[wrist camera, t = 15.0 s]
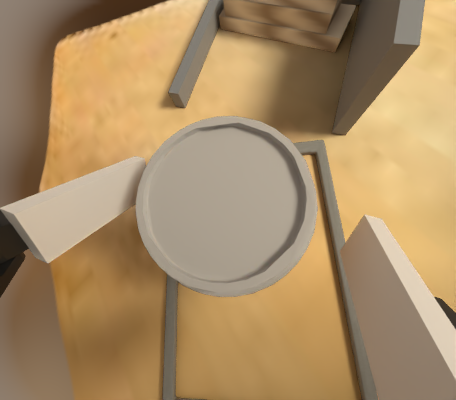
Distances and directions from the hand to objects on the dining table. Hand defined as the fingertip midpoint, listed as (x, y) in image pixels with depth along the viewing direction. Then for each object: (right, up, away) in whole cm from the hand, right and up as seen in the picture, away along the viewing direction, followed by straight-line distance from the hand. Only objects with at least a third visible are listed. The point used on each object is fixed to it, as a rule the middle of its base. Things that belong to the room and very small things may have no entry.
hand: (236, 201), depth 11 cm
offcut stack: (+8, +27, +16) cm, 32 cm away
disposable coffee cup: (+1, -2, +9) cm, 10 cm away
